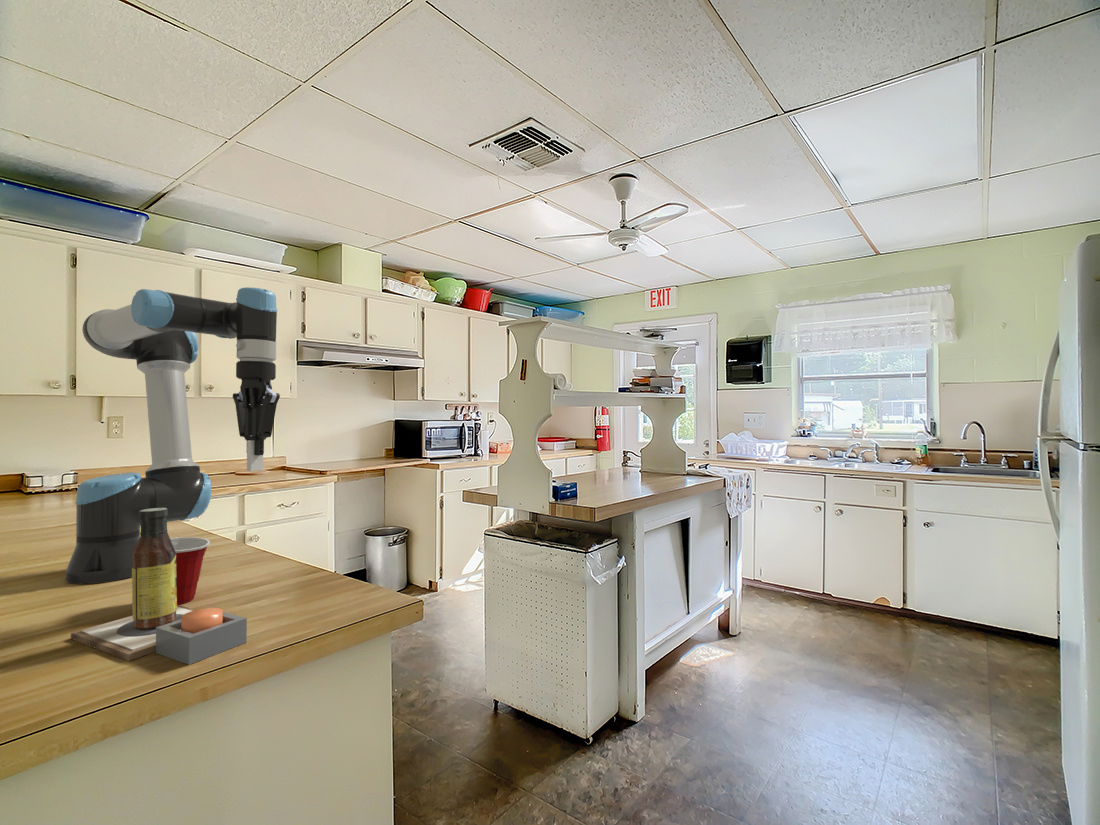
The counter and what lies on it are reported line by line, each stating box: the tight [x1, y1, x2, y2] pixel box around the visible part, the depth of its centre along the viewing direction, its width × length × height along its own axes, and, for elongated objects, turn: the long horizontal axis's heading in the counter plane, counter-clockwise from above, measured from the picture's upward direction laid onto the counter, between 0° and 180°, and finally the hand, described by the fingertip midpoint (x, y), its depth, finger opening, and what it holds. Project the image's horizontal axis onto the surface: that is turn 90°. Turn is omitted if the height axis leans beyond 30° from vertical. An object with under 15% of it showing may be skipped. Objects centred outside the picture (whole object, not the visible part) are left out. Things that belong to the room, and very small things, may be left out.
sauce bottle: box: [131, 508, 177, 629], centre depth 93 cm, size 7×6×20 cm
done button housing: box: [155, 611, 248, 665], centre depth 87 cm, size 9×9×4 cm
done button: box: [181, 607, 224, 634], centre depth 87 cm, size 6×6×4 cm
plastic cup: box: [169, 536, 211, 605], centre depth 109 cm, size 11×11×12 cm
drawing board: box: [70, 604, 196, 662], centre depth 93 cm, size 18×16×1 cm
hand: (254, 470), depth 116 cm, fingers closed
